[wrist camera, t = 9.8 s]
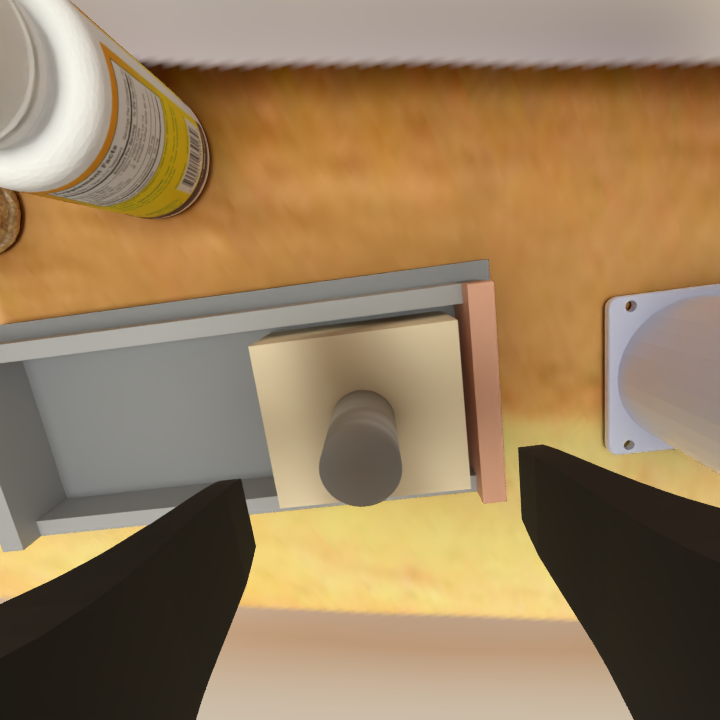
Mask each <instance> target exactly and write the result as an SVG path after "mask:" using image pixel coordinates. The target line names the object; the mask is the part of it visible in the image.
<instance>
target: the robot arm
mask: <svg viewBox="0 0 720 720" xmlns="http://www.w3.org/2000/svg"><path fill="white" fill-rule="evenodd" d="M629 301H630V302H631V304H632V306H631V308H630V309H629V310H628V311H627V310H626V308H625V306H626V304H627V302H629ZM628 440H630V442H629V444H628V445H627V446H625V447H624V443H625V442H626V441H628ZM605 447H606V449H607V450H608V451H609V452H611V453H612V454H614V455H621V454H631V453H640V452H650V451H659V450H669V449H677V450H679V451H680V452H682V453H684V454H686V455H687V456H689V457H691V458H692V459H694V460H696V461H697V462H699V463H701V464H703V465H704V466H706V467H708V468H709V469H711V470H713V471H714V472H716V473H718V474H720V283H717V284H709V285H702V286H694V287H686V288H678V289H670V290H662V291H655V292H647V293H639V294H631V295H623V296H616V297H612V298H611V299H609V300H608V301H607V303H606V305H605ZM518 453H519V473H520V493H521V513H522V520H523V523H524V525H525V527H526V530H527V532H528V534H529V536H530V539H531V541H532V543H533V545H534V547H535V549H536V551H537V553H538V555H539V557H540V559H541V560H542V562H543V564H544V565H545V567H546V569H547V570H548V572H549V573H550V575H551V577H552V578H553V580H554V582H555V583H556V585H557V586H558V588H559V590H560V591H561V593H562V594H563V596H564V598H565V599H566V601H567V602H568V604H569V605H570V607H571V609H572V610H573V612H574V613H575V615H576V617H577V618H578V620H579V621H580V623H581V625H582V626H583V628H584V629H585V631H586V632H587V634H588V636H589V637H590V639H591V640H592V642H593V644H594V645H595V647H596V649H597V651H598V652H599V654H600V656H601V657H602V659H603V661H604V663H605V664H606V666H607V668H608V670H609V672H610V674H611V676H612V677H613V680H614V682H615V683H616V685H617V687H618V689H619V691H620V693H621V695H622V697H623V699H624V701H625V703H626V705H627V707H628V709H629V711H630V713H631V715H632V717H633V719H634V720H720V508H718V507H714V506H711V505H707V504H704V503H700V502H697V501H693V500H690V499H687V498H684V497H681V496H677V495H674V494H671V493H668V492H665V491H663V490H660V489H657V488H654V487H651V486H649V485H646V484H643V483H640V482H637V481H635V480H632V479H630V478H627V477H624V476H622V475H619V474H617V473H614V472H612V471H609V470H607V469H604V468H602V467H599V466H597V465H595V464H592V463H590V462H587V461H585V460H582V459H580V458H578V457H575V456H573V455H570V454H568V453H565V452H563V451H560V450H558V449H555V448H552V447H549V446H546V445H535V446H526V447H518ZM255 548H256V545H255V540H254V536H253V531H252V526H251V522H250V517H249V512H248V508H247V503H246V499H245V494H244V489H243V485H242V480H241V479H232V480H223V481H218V482H215V483H213V484H211V485H210V486H208V487H206V488H205V489H203V490H201V491H200V492H198V493H196V494H195V495H193V496H192V497H190V498H189V499H187V500H186V501H184V502H183V503H181V504H180V505H178V506H177V507H175V508H174V509H172V510H171V511H169V512H168V513H166V514H165V515H163V516H162V517H160V518H159V519H157V520H156V521H154V522H152V523H151V524H149V525H148V526H146V527H144V528H143V529H141V530H140V531H138V532H136V533H135V534H133V535H132V536H130V537H128V538H127V539H125V540H124V541H122V542H120V543H119V544H117V545H115V546H114V547H112V548H110V549H109V550H107V551H105V552H104V553H102V554H100V555H98V556H97V557H95V558H93V559H91V560H89V561H88V562H86V563H84V564H82V565H80V566H78V567H76V568H74V569H72V570H71V571H69V572H67V573H65V574H63V575H61V576H59V577H57V578H55V579H53V580H51V581H49V582H47V583H45V584H43V585H41V586H38V587H36V588H34V589H32V590H30V591H28V592H25V593H23V594H21V595H19V596H17V597H15V598H12V599H10V600H8V601H6V602H4V603H2V604H0V720H196V717H197V714H198V711H199V707H200V704H201V701H202V698H203V695H204V692H205V690H206V687H207V684H208V681H209V679H210V676H211V673H212V671H213V668H214V666H215V663H216V661H217V658H218V655H219V653H220V651H221V648H222V646H223V643H224V641H225V638H226V636H227V633H228V631H229V628H230V625H231V623H232V620H233V618H234V616H235V613H236V610H237V608H238V605H239V603H240V600H241V597H242V595H243V592H244V590H245V587H246V584H247V581H248V577H249V573H250V569H251V565H252V561H253V557H254V552H255Z"/></svg>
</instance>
